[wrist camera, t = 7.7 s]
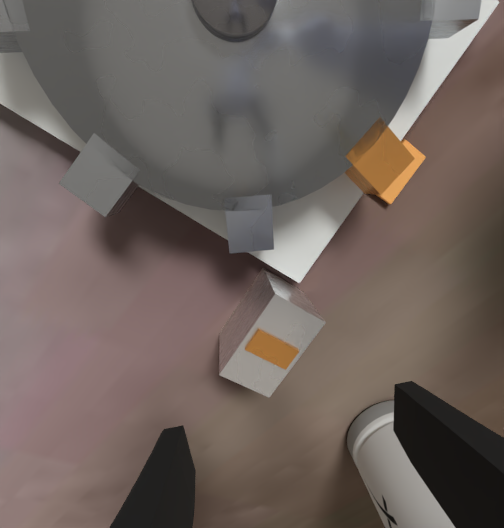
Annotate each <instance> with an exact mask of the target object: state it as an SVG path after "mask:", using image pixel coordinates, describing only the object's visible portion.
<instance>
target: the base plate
mask: <svg viewBox="0 0 504 528" xmlns="http://www.w3.org/2000/svg"><path fill="white" fill-rule="evenodd" d="M498 4H499V2H498V0H481V7H480V14H479V19H478V20H477V21H475V22H473V23H472V24H470V25H469V26H467V27H465V28H464V29H462V30H461V31H459V32H457V33H456V34H454V35H453V36H451V37H449V38H444V39H428V42H427V45H426V48H425V51H424V54H423V57H422V60H421V63H420V66H419V69H418V71H417V73H416V76H415V78H414V80H413V82H412V85H411V87H410V89H409V91H408V93H407V96H406V97H405V99H404V101H403V103H402V104H401V106H400V108H399V110H398V111H397V113H396V115H395V116H394V118H393V120H392V121H391V122H390V124H389V125H388V127H389V128H390V129H391V131H392V132H393V133H394V134H395V135H396V137H397V138H398V139H399V140H400V141H401V140H402V138H403V137H404V136H405V134H406V133H407V131H408V130H409V129H410V127H411V126H412V124H413V123H414V122H415V120H416V119H417V117H418V116H419V115H420V113H421V112H422V110H423V109H424V108H425V106H426V105H427V103H428V102H429V100H430V99H431V98H432V96H433V95H434V93H435V92H436V91H437V89H438V88H439V86H440V85H441V84H442V82H443V81H444V79H445V78H446V77H447V75H448V74H449V72H450V71H451V70H452V68H453V67H454V65H455V64H456V63H457V61H458V60H459V58H460V57H461V56H462V54H463V53H464V51H465V50H466V49H467V47H468V46H469V44H470V43H471V41H472V40H473V39H474V37H475V36H476V34H477V33H478V32H479V30H480V29H481V27H482V26H483V25H484V23H485V22H486V20H487V19H488V18H489V16H490V15H491V13H492V12H493V11H494V9H495V8H496V6H497V5H498ZM0 104H2V105H3V106H5V107H7V108H8V109H10V110H12V111H13V112H15V113H17V114H18V115H20V116H22V117H23V118H25V119H27V120H28V121H30V122H32V123H33V124H35V125H37V126H38V127H40V128H42V129H43V130H45V131H47V132H48V133H50V134H52V135H53V136H55V137H57V138H58V139H60V140H62V141H63V142H65V143H67V144H68V145H70V146H72V147H73V148H75V149H77V150H78V151H80V152H81V151H82V150H83V148H84V147H85V145H86V143H85V142H84V141H83V140H82V139H81V138H80V137H79V136H78V135H77V134H76V133H75V132H74V131H73V130H72V129H71V127H70V126H69V125H68V124H67V122H66V121H65V120H64V119H63V117H62V116H61V115H60V113H59V112H58V111H57V110H56V108H55V107H54V106H53V105H52V103H51V101H50V100H49V98H48V97H47V95H46V94H45V92H44V90H43V89H42V87H41V86H40V84H39V82H38V81H37V79H36V78H35V76H34V74H33V72H32V70H31V68H30V66H29V64H28V62H27V60H26V58H25V56H24V54H23V52H12V53H0ZM401 143H402V144H403V145H404V146H405V147H406V149H407V150H408V151H409V152H410V153H411V155H412V156H413V157H414V158H415V159H414V160H413V161H412V162H411V163H410V164H409V166H408V167H407V168H406V169H405V170H404V171H403V172H402V173H401V174H400V175H399V176H398V177H397V178H396V179H395V181H394V182H393V183H392V184H391V185H390V186H389V187H388V188H387V189H386V190H385V191H384V192H383V193H382V195H377V196H378V197H380V198H381V199H382V200H383V201H385V202H386V203H387V204H392V202H393V201H394V199H395V198H396V197H397V195H398V194H399V193H400V191H401V190H402V189H403V187H404V186H405V185H406V183H407V182H408V181H409V179H410V178H411V177H412V175H413V174H414V172H415V171H416V170H417V168H418V167H419V166H420V164H421V163H422V162H423V160H424V159H425V158H426V157H425V156H424V155H423V154H422V153H420V152H419V151H418V150H417V149H416V148H415V147H414V146H412V145H411V144H410V143H409V142H408V141H407V140H402V141H401ZM138 187H140V188H142V189H143V190H145V191H147V192H148V193H150V194H152V195H153V196H155V197H157V198H158V199H160V200H162V201H163V202H165V203H167V204H168V205H170V206H172V207H173V208H175V209H177V210H178V211H180V212H182V213H183V214H185V215H187V216H188V217H190V218H192V219H193V220H195V221H196V222H198V223H200V224H201V225H203V226H205V227H206V228H208V229H210V230H211V231H213V232H215V233H216V234H218V235H220V236H221V237H223V238H225V239H226V240H228V233H227V223H226V213H225V211H223V210H210V209H205V208H200V207H195V206H191V205H186V204H183V203H180V202H177V201H174V200H172V199H169V198H166V197H163V196H161V195H159V194H157V193H155V192H153V191H151V190H149V189H146V188H144V187H142V186H140V185H139V186H138ZM362 195H363V192H362V190H361V189H360V188H359V187H358V186H357V185H356V184H355V183H354V182H353V181H352V180H351V179H350V178H349V177H348V176H347V175H346V174H345V173H343V174H342V175H341V176H339V177H338V178H336V179H335V180H333V181H332V182H330V183H329V184H327V185H325V186H324V187H322V188H321V189H319V190H317V191H315V192H313V193H310V194H308V195H306V196H304V197H302V198H300V199H297V200H294V201H291V202H288V203H285V204H282V205H279V206H274V207H272V215H273V236H274V250H263V251H253V252H248V253H250V254H251V255H253V256H255V257H256V258H258V259H260V260H261V261H263V262H265V263H266V264H268V265H270V266H271V267H273V268H275V269H276V270H278V271H280V272H281V273H283V274H285V275H286V276H288V277H290V278H291V279H293V280H295V281H296V282H298V283H300V282H301V280H302V279H303V278H304V276H305V275H306V273H307V272H308V271H309V269H310V268H311V266H312V265H313V263H314V262H315V261H316V259H317V258H318V256H319V255H320V254H321V252H322V251H323V249H324V248H325V247H326V245H327V244H328V242H329V241H330V240H331V238H332V237H333V235H334V234H335V233H336V231H337V230H338V228H339V227H340V226H341V224H342V223H343V221H344V220H345V219H346V217H347V216H348V214H349V213H350V212H351V210H352V209H353V207H354V206H355V204H356V203H357V202H358V200H359V199H360V197H361V196H362Z"/></svg>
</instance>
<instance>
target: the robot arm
mask: <svg viewBox="0 0 504 528" xmlns="http://www.w3.org/2000/svg"><path fill="white" fill-rule="evenodd" d="M393 431H394V433H395V435H396V436H397V438H398V440H399V442H400V444H401V446H402V448H403V449H404V451H405V453H406V455H407V456H408V458H409V460H410V462H411V464H412V465H413V467H414V468H415V470H416V471H417V473H418V474H419V475H420V477H421V478H422V480H423V481H424V483H425V484H426V486H427V487H428V489H429V490H430V492H431V493H432V494H433V496H434V497H435V499H436V500H437V502H438V503H439V505H440V506H441V508H442V509H443V510H444V512H445V513H446V515H447V516H448V518H449V519H450V521H451V522H452V523H453V525H454V526H455V528H504V438H503V437H501V436H500V435H498V434H496V433H495V432H493V431H491V430H490V429H488V428H486V427H485V426H483V425H481V424H480V423H478V422H477V421H475V420H473V419H472V418H470V417H468V416H467V415H465V414H464V413H462V412H460V411H459V410H457V409H456V408H454V407H452V406H451V405H449V404H448V403H446V402H444V401H443V400H441V399H440V398H438V397H437V396H435V395H433V394H432V393H430V392H429V391H427V390H426V389H424V388H422V387H421V386H419V385H417V384H416V383H414V382H412V381H410V382H405V383H400V384H395V394H394V423H393ZM194 503H195V468H194V464H193V460H192V457H191V453H190V449H189V445H188V442H187V438H186V434H185V431H184V427H183V426H178V427H173V428H168V429H164V430H163V431H162V433H161V435H160V437H159V439H158V441H157V443H156V445H155V447H154V449H153V451H152V453H151V455H150V457H149V458H148V460H147V462H146V464H145V466H144V468H143V470H142V472H141V474H140V475H139V477H138V479H137V481H136V483H135V484H134V486H133V488H132V490H131V492H130V493H129V495H128V497H127V499H126V500H125V502H124V504H123V506H122V508H121V509H120V511H119V513H118V514H117V516H116V518H115V519H114V521H113V523H112V524H111V526H110V528H192V526H193V517H194Z"/></svg>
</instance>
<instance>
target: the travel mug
mask: <svg viewBox="0 0 504 528" xmlns="http://www.w3.org/2000/svg"><path fill="white" fill-rule="evenodd" d="M393 423H394V400H391V401H385V402H381V403H378V404H375V405H373V406H371V407H370V408H368V409H366V410H365V411H364V412H362V413H361V414H360V415H359V416H358V417H357V418H356V419H355V420H354V422H353V423H352V425H351V427H350V429H349V431H348V436H347V446H348V449H349V452H350V454H351V456H352V458H353V460H354V462H355V464H356V466H357V468H358V470H359V473H360V475H361V477H362V479H363V481H364V484H365V486H366V488H367V490H368V492H369V494H370V496H371V498H372V501H373V503H374V505H375V507H376V509H377V511H378V513H379V515H380V518H381V520H382V522H383V524H384V526H385V528H455V526H454V525H453V523H452V522H451V521H450V519H449V518H448V516H447V515H446V513H445V512H444V510H443V509H442V508H441V506H440V505H439V503H438V502H437V500H436V499H435V497H434V496H433V494H432V493H431V492H430V490H429V489H428V487H427V486H426V484H425V483H424V481H423V480H422V478H421V477H420V475H419V474H418V473H417V471H416V470H415V468H414V467H413V465H412V464H411V462H410V460H409V458H408V456H407V455H406V453H405V451H404V449H403V448H402V446H401V444H400V442H399V440H398V438H397V436H396V435H395V433H394V431H393Z"/></svg>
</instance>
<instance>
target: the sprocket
mask: <svg viewBox="0 0 504 528" xmlns="http://www.w3.org/2000/svg"><path fill="white" fill-rule="evenodd" d="M480 7H481V0H0V53H12V52H23V54H24V56H25V58H26V60H27V62H28V64H29V66H30V68H31V70H32V72H33V74H34V76H35V78H36V79H37V81H38V82H39V84H40V86H41V87H42V89H43V90H44V92H45V94H46V95H47V97H48V98H49V100H50V101H51V103H52V105H53V106H54V107H55V108H56V110H57V111H58V112H59V113H60V115H61V116H62V117H63V119H64V120H65V121H66V122H67V124H68V125H69V126H70V127H71V129H72V130H73V131H74V132H75V133H76V134H77V135H78V136H79V137H80V138H81V139H82V140H83V141H84V142H85V143H86V145H85V147H84V148H83V150H82V151H81V152H80V154H79V155H78V157H77V158H76V160H75V161H74V163H73V164H72V165H71V167H70V168H69V170H68V171H67V173H66V174H65V176H64V177H63V178H62V180H61V181H60V183H59V184H60V185H62V186H63V187H64V188H66V189H67V190H69V191H70V192H71V193H73V194H74V195H75V196H77V197H78V198H80V199H81V200H82V201H84V202H85V203H86V204H88V205H89V206H91V207H92V208H93V209H95V210H96V211H97V212H99V213H100V214H102V215H103V216H104V217H107V216H110V215H114V214H117V213H119V212H120V210H121V209H122V208H123V206H124V205H125V204H126V202H127V201H128V199H129V198H130V197H131V195H132V194H133V193H134V191H135V190H136V189H137V187H138V186H139V185H140V186H142V187H144V188H146V189H149V190H151V191H153V192H155V193H157V194H159V195H161V196H163V197H166V198H169V199H172V200H174V201H177V202H180V203H183V204H186V205H191V206H195V207H200V208H205V209H210V210H223V211H225V213H226V223H227V233H228V244H229V253H230V254H231V253H242V252H253V251H263V250H274V236H273V215H272V207H274V206H279V205H282V204H285V203H288V202H291V201H294V200H297V199H300V198H302V197H304V196H306V195H308V194H310V193H313V192H315V191H317V190H319V189H321V188H322V187H324V186H325V185H327V184H329V183H330V182H332V181H333V180H335V179H336V178H338V177H339V176H341V175H342V174H343V173H345V174H346V175H347V176H348V177H349V178H350V179H351V180H352V181H353V182H354V183H355V184H356V185H357V186H358V187H359V188H360V189H361V190H362V192H363V193H366V194H376V195H382V193H383V192H384V191H385V190H386V189H387V188H388V187H389V186H390V185H391V184H392V183H393V182H394V181H395V179H396V178H397V177H398V176H399V175H400V174H401V173H402V172H403V171H404V170H405V169H406V168H407V167H408V166H409V164H410V163H411V162H412V161H413V160H414V159H415V158H414V157H413V156H412V155H411V153H410V152H409V151H408V150H407V149H406V147H405V146H404V145H403V144H402V143H401V141H400V140H399V139H398V138H397V137H396V135H395V134H394V133H393V132H392V131H391V129H390V128H389V127H388V125H389V124H390V122H391V121H392V120H393V118H394V116H395V115H396V113H397V111H398V110H399V108H400V106H401V104H402V103H403V101H404V99H405V97H406V96H407V93H408V91H409V89H410V87H411V85H412V82H413V80H414V78H415V76H416V73H417V71H418V69H419V66H420V63H421V60H422V57H423V54H424V51H425V48H426V45H427V42H428V39H444V38H449V37H451V36H453V35H454V34H456V33H457V32H459V31H461V30H462V29H464V28H465V27H467V26H469V25H470V24H472V23H473V22H475V21H477V20H478V19H479V14H480Z"/></svg>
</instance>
